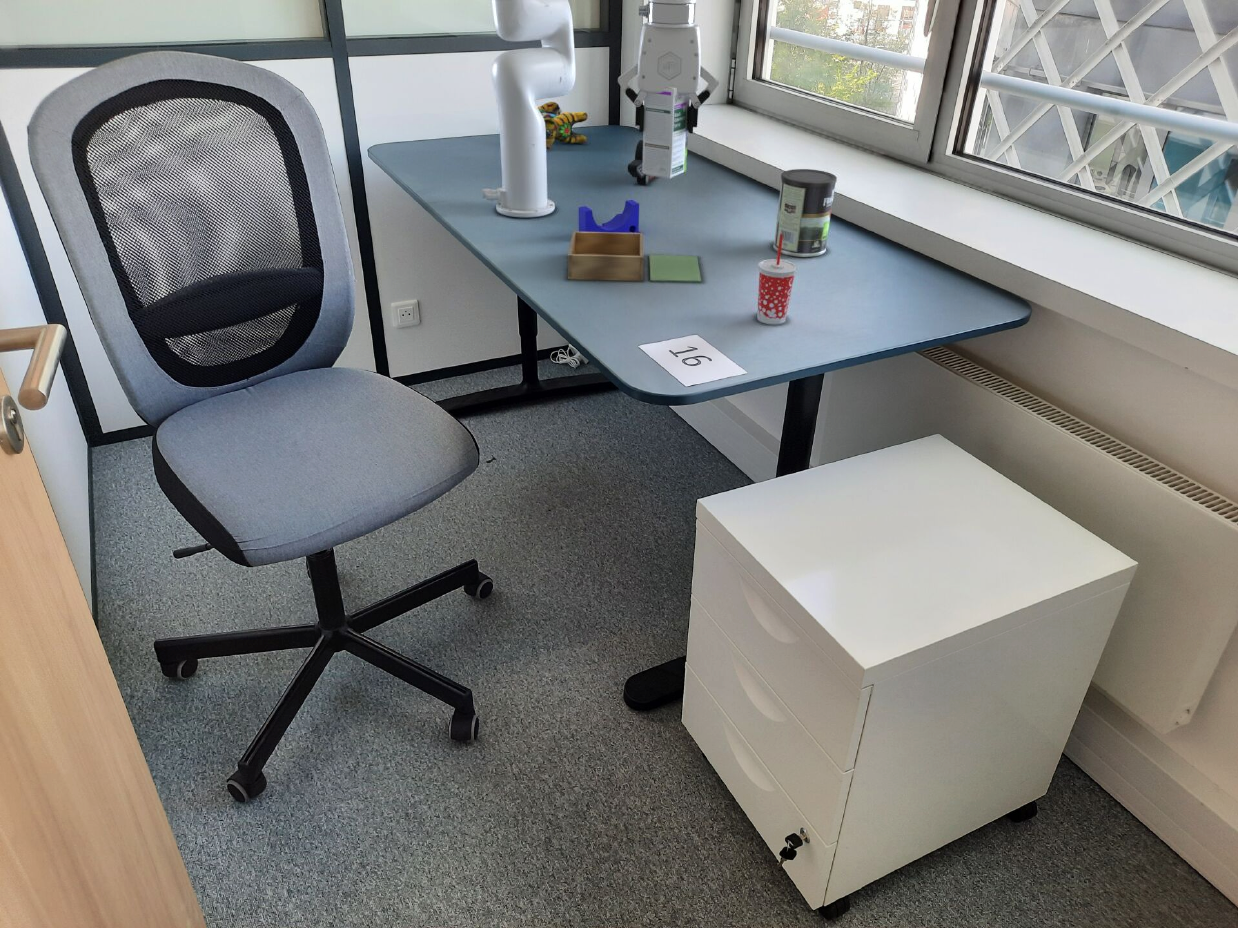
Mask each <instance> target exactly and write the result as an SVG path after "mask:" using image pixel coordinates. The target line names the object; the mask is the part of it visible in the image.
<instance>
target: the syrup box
mask: <svg viewBox="0 0 1238 928" xmlns="http://www.w3.org/2000/svg"><path fill="white" fill-rule="evenodd" d="M690 104H691V100H690V98H689V96H688V94H678V93H677V88H674V87H666V88H665V89H664V92H662V93H648V94H647V96H646V98H645V99H644V101H643V105H644V129H643V131H642V133H643V134H642V135H643V136H642V137H643V138H642V140H643V169H642V172H643V173H644V174H647V175H651V176H656V178H661V179H668V180H671V179H672V178H674V177H676V176H678V175H681V174H683V173H686V172H687V163H688V161H687V159H688V141H689V140H688V138H689V132H688V123H689V106H690Z"/></svg>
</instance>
